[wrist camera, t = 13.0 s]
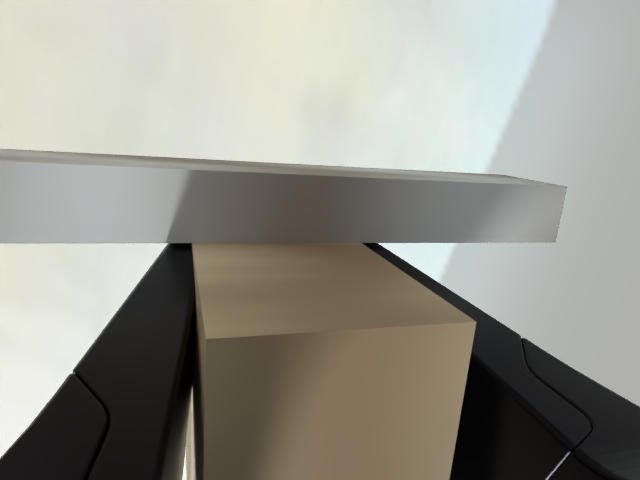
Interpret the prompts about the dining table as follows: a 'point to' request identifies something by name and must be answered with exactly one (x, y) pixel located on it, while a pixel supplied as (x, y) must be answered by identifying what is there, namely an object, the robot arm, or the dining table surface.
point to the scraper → (296, 297)
